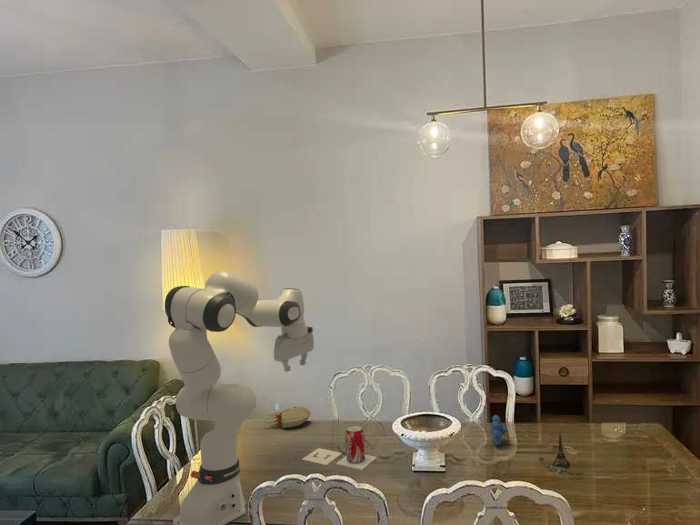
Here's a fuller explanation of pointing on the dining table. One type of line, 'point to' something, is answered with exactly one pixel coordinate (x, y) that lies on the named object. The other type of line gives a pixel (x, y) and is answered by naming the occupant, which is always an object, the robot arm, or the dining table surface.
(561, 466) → the eiffel tower figurine
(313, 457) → the card
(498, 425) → the blue figurine
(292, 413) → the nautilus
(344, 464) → the coaster
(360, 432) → the soda can
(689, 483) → the dining table surface
